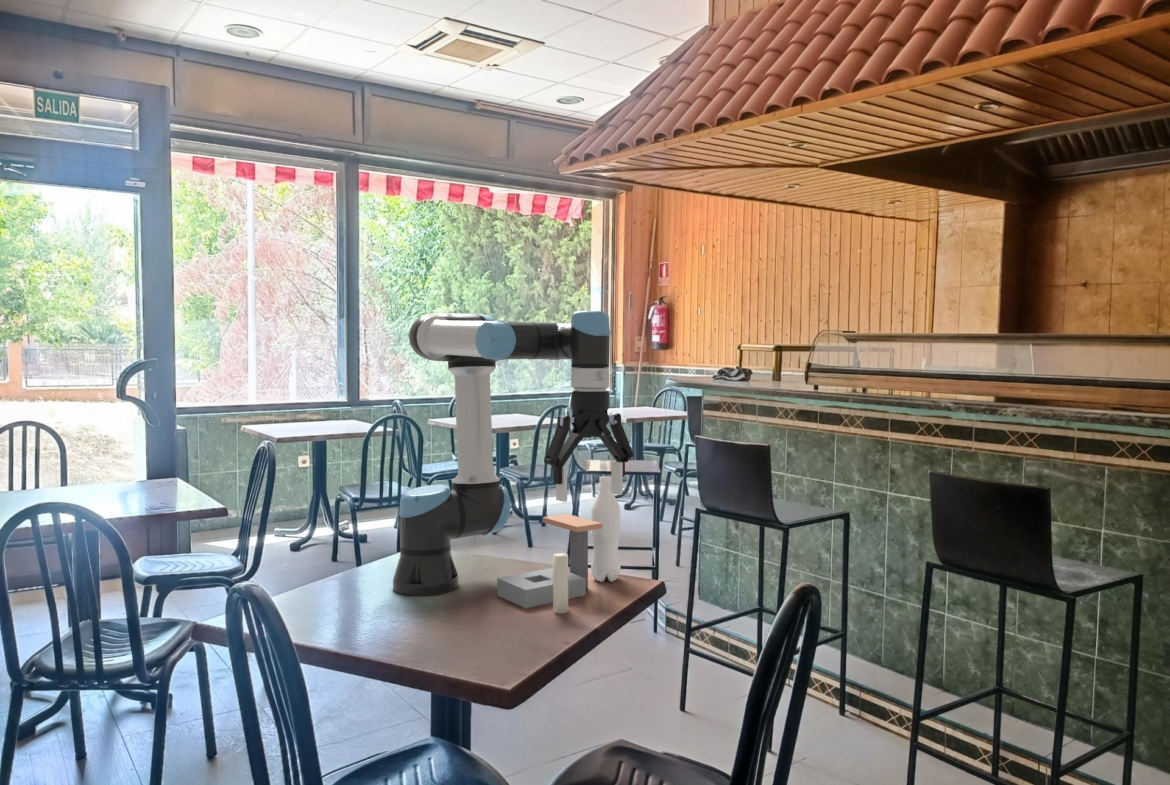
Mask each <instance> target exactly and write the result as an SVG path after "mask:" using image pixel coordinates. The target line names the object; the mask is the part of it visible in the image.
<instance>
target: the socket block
mask: <svg viewBox="0 0 1170 785" xmlns="http://www.w3.org/2000/svg"><path fill="white" fill-rule="evenodd" d="M496 583H497V584H496V585H497V586H496V588H497V591H496V592H497V593H496V594H497V596H498V597H500V598H502V599H504V600H506V601H508V602H511V603H512V604H515V605H517V606H519V607H522V608H523V609H531V608H535V607H539V606H544V605H548V604H553V567H550V568H544V569H540V570H539V569H538V570H534V571H528V572H522V573H518V574H512V575H506V576H500V577H496ZM586 589H587V588H586V578H584V577H581V576H578V575H576V574H573V573H570V571H568V600H571V598H572V599H576V598H575V597H577V598H580V597H579V596H581V597H585V596H584V595H586V592H587V591H586Z"/></svg>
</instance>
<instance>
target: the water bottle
mask: <svg viewBox="0 0 1170 785" xmlns="http://www.w3.org/2000/svg"><path fill="white" fill-rule="evenodd" d="M618 502H619V501H618V499H617V498H616V496H615V494H614V493H611V476H610V475H609V476H607V475H604V476H599V483H598V494H597V495H596V498H595V499H594V501H593V503H592V506H591V509H590V513H591V514H590V515H591V518H590V520H592V521H596V522H600V523H602V528H601V529H595V530H590V533H591V538H592V544H593V553H592V561H591V565H590V569H591V570H590V571H591V575H592V577H593V579H595V580H596V581H598V582H599V581H600V582H601V583H603V582H604V581H605V580H606V578H607V579H608V581H609V582H610V583H612V582H615V581H616V580H617V579H618V578H619V576H614V575H620V574H621V563H620V559H619V558H620V557H619V540H620V539H619V538H620V535H621V508H620V504H619V503H618ZM614 580H615V581H614Z"/></svg>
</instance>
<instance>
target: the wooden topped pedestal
mask: <svg viewBox="0 0 1170 785" xmlns="http://www.w3.org/2000/svg"><path fill="white" fill-rule="evenodd" d="M542 523H543V524H548V525H551V526H553V527H558V528H561V529H565V530H567V531H568V530H569V572H570V573H573V574H576V575H578V576H581V577H584V578H586V589H589V540H588V539H589V537H588V535H589V531H591V530H595V529H601V528H602V523H600V522H596V521H592V520H591V519H588V518H583V517H580V516H578V515H573V514H568V513H562V514H556V515H548V516H543V517H542Z"/></svg>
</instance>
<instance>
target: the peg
mask: <svg viewBox="0 0 1170 785" xmlns="http://www.w3.org/2000/svg"><path fill="white" fill-rule="evenodd" d="M552 568H553V603H552V612H553V613H554V614H566V613H568V612H569V599H568V572H569V555H568V554H567V553H554V554H552Z"/></svg>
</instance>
